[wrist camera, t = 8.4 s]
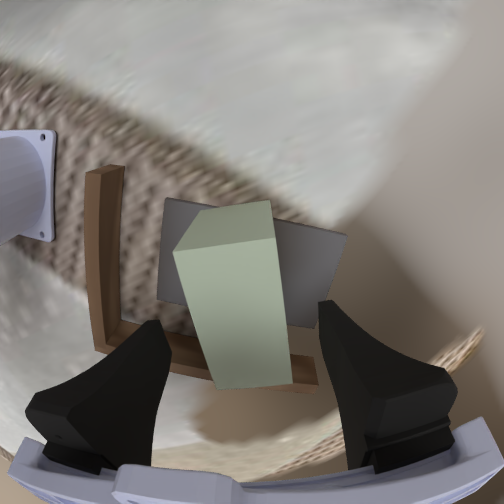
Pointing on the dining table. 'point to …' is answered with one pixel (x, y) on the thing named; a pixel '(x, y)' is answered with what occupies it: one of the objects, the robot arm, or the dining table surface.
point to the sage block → (236, 295)
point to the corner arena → (169, 285)
